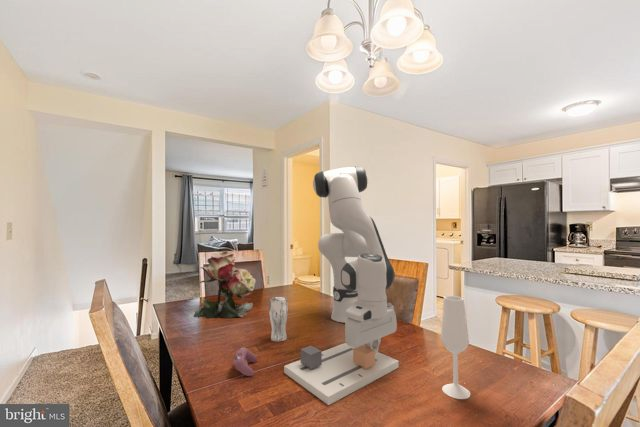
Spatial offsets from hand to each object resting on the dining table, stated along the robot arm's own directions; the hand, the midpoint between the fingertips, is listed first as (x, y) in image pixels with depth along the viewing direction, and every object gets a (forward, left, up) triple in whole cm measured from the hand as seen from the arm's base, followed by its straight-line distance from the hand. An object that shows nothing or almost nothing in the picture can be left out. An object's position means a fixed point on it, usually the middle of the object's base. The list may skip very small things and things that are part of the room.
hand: (373, 353), depth 88 cm
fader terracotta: (+4, 0, -2) cm, 4 cm away
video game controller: (+30, -25, -5) cm, 39 cm away
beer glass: (+10, -38, -4) cm, 40 cm away
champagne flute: (-7, +22, -4) cm, 23 cm away
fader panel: (+8, -5, -4) cm, 10 cm away
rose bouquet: (+10, -87, -5) cm, 87 cm away
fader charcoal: (+16, -10, -2) cm, 19 cm away
